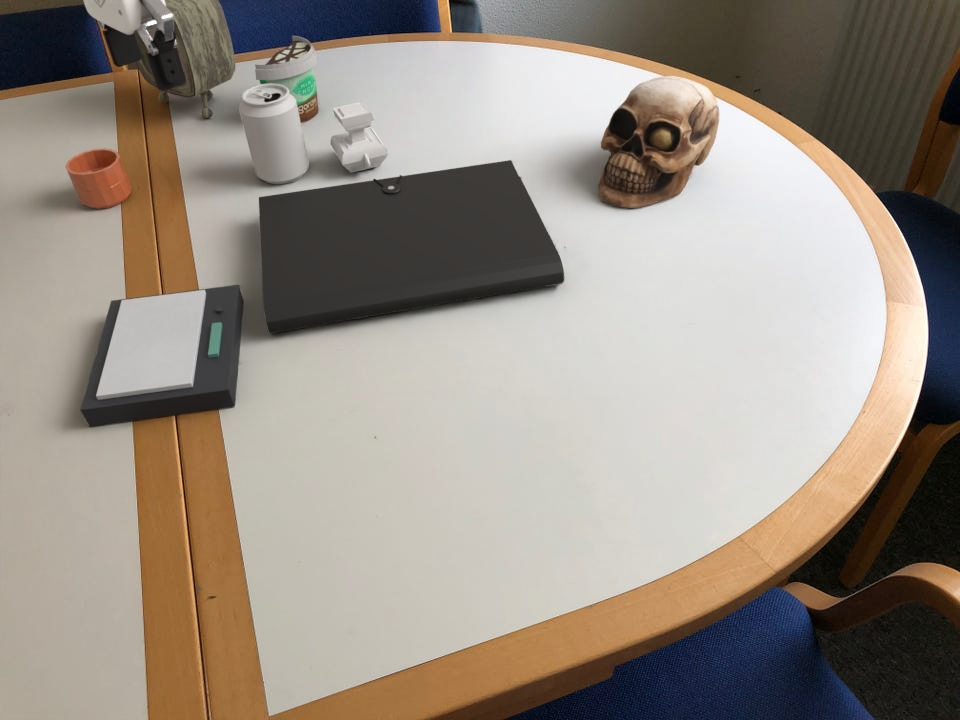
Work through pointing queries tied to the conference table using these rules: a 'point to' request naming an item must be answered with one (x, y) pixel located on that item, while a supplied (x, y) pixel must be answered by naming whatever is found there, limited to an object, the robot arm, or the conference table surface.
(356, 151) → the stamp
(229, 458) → the conference table surface
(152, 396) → the scale
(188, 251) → the conference table surface
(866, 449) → the conference table surface
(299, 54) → the food container
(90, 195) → the terracotta plant pot
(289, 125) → the can
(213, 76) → the tabletop clock
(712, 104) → the beige skull model
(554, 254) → the file folder
